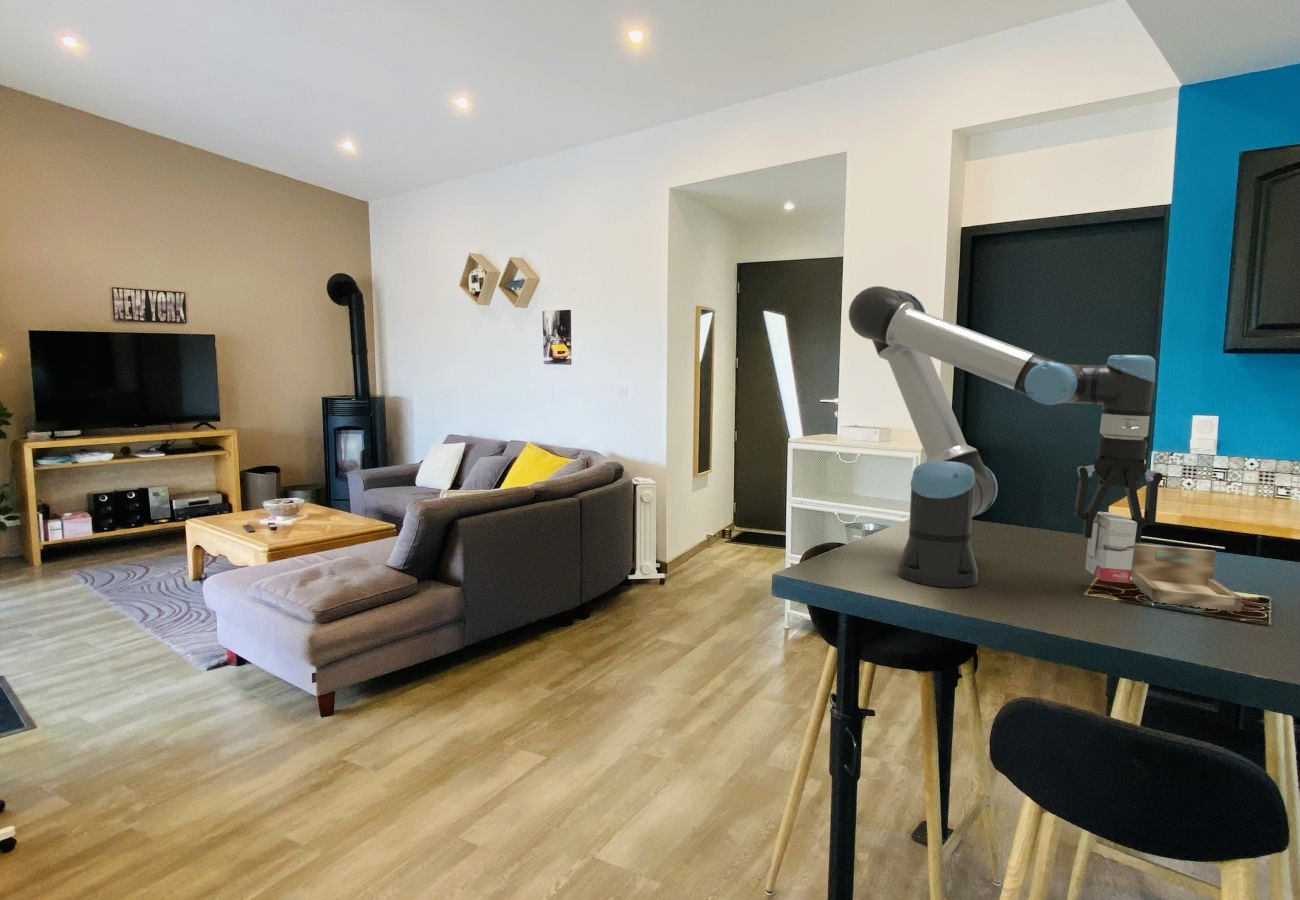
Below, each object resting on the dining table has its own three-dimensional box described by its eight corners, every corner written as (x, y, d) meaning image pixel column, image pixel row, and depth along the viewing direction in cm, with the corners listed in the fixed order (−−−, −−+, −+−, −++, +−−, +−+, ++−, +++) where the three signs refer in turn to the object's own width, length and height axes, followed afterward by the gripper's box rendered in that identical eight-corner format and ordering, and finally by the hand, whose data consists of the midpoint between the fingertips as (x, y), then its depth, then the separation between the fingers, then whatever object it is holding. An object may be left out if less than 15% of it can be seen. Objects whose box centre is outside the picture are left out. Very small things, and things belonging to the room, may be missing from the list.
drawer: (1153, 602, 126) (1157, 560, 125) (1131, 581, 139) (1135, 543, 138) (1240, 612, 121) (1245, 568, 120) (1209, 589, 134) (1213, 550, 133)
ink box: (1132, 583, 127) (1138, 521, 126) (1102, 581, 128) (1108, 519, 127) (1112, 570, 135) (1117, 512, 134) (1084, 568, 137) (1089, 510, 135)
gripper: (1070, 435, 128) (1057, 555, 131) (1189, 442, 122) (1173, 568, 125) (1063, 432, 135) (1051, 546, 138) (1174, 438, 129) (1159, 558, 132)
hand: (1108, 556), depth 131 cm, fingers closed on ink box, 5 cm apart
